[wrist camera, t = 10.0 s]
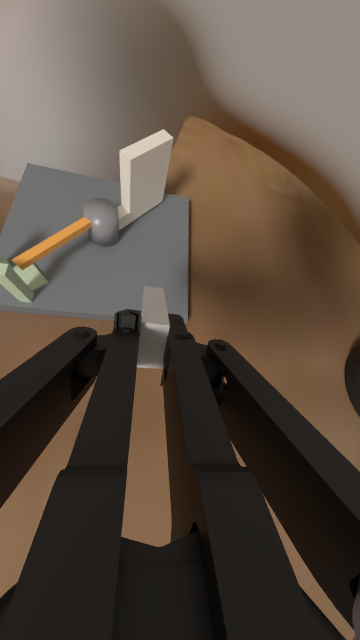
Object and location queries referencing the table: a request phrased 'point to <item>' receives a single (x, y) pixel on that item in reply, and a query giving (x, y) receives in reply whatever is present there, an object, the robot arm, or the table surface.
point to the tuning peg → (136, 198)
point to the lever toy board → (90, 251)
